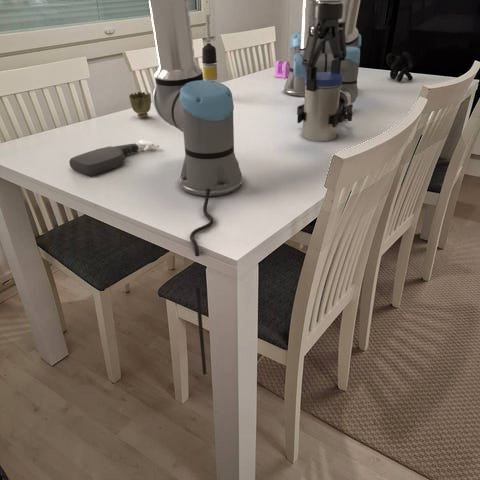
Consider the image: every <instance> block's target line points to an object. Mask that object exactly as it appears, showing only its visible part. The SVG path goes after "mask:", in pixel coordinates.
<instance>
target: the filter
mask: <svg viewBox="0 0 480 480" xmlns="http://www.w3.org/2000/svg"><path fill="white" fill-rule="evenodd" d="M210 17H211V14H204V18H205V27H206V29H205V30H206V31H205V33H206V39H207V40H206V42H207V43H206V45H204V46H202V49H201V50H202V51H201V52H202V54H201V55H202V57H201V58H202V61H201V63H202V71H203V80H207V81H212V82H216V80H218V64H216V63H218V61H217V48H216V47H215V46H214V45H212V43H210V42H211V40H210V39H211V31H210V29H211V28H210Z"/></svg>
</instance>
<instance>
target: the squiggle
mask: <svg viewBox="0 0 480 480" xmlns="http://www.w3.org/2000/svg"><path fill="white" fill-rule="evenodd" d="M401 57H402V59H401ZM391 59H392V60H391ZM393 60H394V61H393ZM385 61H386V64H387V67H390V68H391V70H390V72H389V78H390V79H391V80H395V79H396V81H397V82H399V83H400V82H402V81H403V79H404V76H406V78H407V80H408V81H412V80H413V79H414V77H413V75H412V74H411V73H410V72H409V71H410V70H412V69H413V68H414V64H413V61H412V57H411V54H410V53H409V52H408V51H403V53H402V54H401V55H396V54H394V53H392V52H390V53H387V55H386V57H385ZM406 62H407V65H408V66H407V67H405V66H404V65H405V64H406ZM400 70H401V71H400Z"/></svg>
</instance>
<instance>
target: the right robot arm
mask: <svg viewBox="0 0 480 480" xmlns="http://www.w3.org/2000/svg"><path fill="white" fill-rule="evenodd" d="M341 3H342V4H343V16H342V18H341V19H338V22H345V41H346V53H347V55H346V57H345V60H344V61H341V67H340V75H342V76H343V79H342V84H340V85H341V87H340V97H339V107H338V114H337V115H336V116H335V117H334V118H333V125H332V127H336V126H339V124H341V123H344V122H346V120H347V122H352V120H353V111H354V110H353V109H354V104H353V103H354V102H355V101H356V100H357V98H358V96H359V88H358V75H359V68H360V64H361V61H360V60H361V59H360V58H361V46H362V35H361V34H360V33H359V30H358V27H357V20H358V15H359V10H360V5H361V0H343V1H341ZM316 4H317V1H316V0H301V9H300V10H301V13H300V31H298V32H297V31H296V32H294V33H293V34H292V35H291V37H290V45H289V49H290V51H289V62H290V69H289V75H288V77H287V78H286V81H285V84H284V87H283V88H284V89H283V92H284V94H286V95H288V96H293V97H302V98H303V97H304V98H305V85H306V84H305V82H304V78H305V75H306V74H307V66H304V65H302V60H303V56H304V52H305V48H306V44H307V40H308V35H309V27H310V26H316V25H317V19H315V17H314V16H315V5H316ZM341 52H342V51H341ZM332 60H334V58H333V54H332V51H331V47H330V44H329V41H327V42H326V43H325V44H324V45H323V48H322V50H321V53H320V55H319V57H318V60H317V62H316V65H315V67H317V72H331V63H332ZM306 61H307V60H306ZM312 62H313V61H312ZM296 110H297V111H296V115H297V124H300V123H302V122H303V118H304V103H303V104H301V105H298V106H297V109H296ZM336 128H337V127H336Z"/></svg>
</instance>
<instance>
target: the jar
mask: <svg viewBox="0 0 480 480" xmlns="http://www.w3.org/2000/svg"><path fill="white" fill-rule="evenodd" d="M306 85H307V84H306ZM306 85H305V97H304V101H303V102H304V103H303V104H304V118H303V121H302V123H303V124H302V133H301V134H302V138H303V139H306V140H307V141H312V142H329V141H332V140H334V139H336V136H337V126H338V125H337V126H336V127H332V125H333V118H334V117H335V116H336V115H337V114H338V107H339V97H340V87H341V85H338V86H332V87H318V86H316V89H315V91H314V92H313V91H308V90H306Z"/></svg>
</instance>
